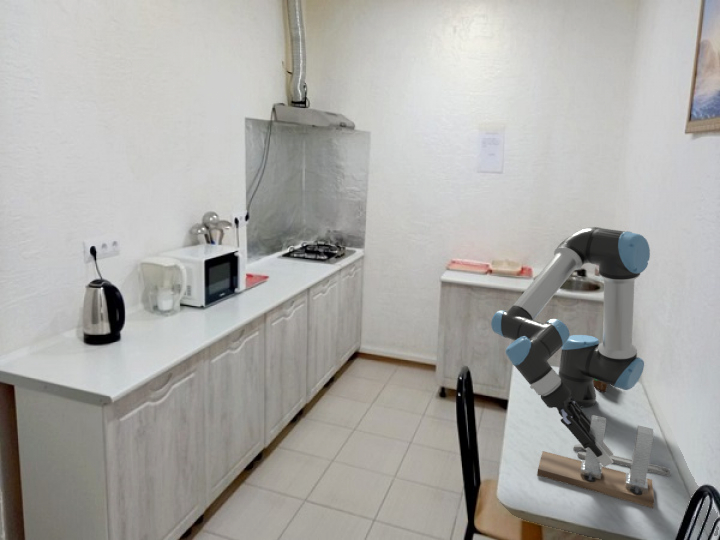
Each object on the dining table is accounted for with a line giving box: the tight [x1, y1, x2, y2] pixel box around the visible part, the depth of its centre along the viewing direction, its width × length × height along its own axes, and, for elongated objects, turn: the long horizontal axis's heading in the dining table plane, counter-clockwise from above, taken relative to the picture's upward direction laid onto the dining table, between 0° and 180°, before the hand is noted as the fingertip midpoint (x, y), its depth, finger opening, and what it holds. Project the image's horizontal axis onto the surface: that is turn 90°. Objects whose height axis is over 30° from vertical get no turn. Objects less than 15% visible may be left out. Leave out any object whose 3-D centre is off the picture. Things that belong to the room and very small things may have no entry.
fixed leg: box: [625, 424, 655, 493], centre depth 136 cm, size 7×5×16 cm
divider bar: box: [536, 450, 655, 509], centre depth 143 cm, size 10×28×2 cm, turn 64°
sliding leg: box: [580, 414, 607, 480], centre depth 140 cm, size 7×5×16 cm
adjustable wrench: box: [573, 443, 672, 477], centre depth 151 cm, size 25×6×2 cm, turn 63°
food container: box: [593, 378, 609, 393], centre depth 201 cm, size 12×6×10 cm, turn 149°
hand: (608, 460), depth 140 cm, fingers closed on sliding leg, 3 cm apart
